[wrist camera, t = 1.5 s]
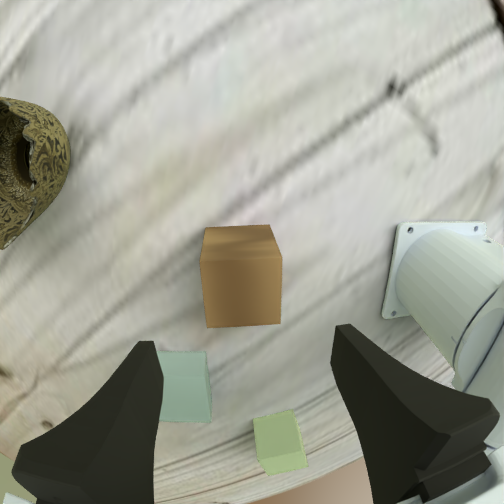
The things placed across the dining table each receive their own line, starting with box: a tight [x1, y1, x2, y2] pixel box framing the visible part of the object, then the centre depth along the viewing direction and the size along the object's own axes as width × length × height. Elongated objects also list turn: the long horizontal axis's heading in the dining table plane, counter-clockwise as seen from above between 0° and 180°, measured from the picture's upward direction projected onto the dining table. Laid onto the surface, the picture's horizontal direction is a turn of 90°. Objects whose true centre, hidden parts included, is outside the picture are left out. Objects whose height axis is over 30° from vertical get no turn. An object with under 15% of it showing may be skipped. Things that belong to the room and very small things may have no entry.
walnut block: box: [200, 225, 282, 328], centre depth 18 cm, size 4×4×5 cm
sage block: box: [253, 409, 308, 476], centre depth 26 cm, size 4×4×5 cm
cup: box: [0, 97, 71, 250], centre depth 13 cm, size 8×7×8 cm
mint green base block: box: [156, 351, 212, 423], centre depth 24 cm, size 6×6×3 cm
